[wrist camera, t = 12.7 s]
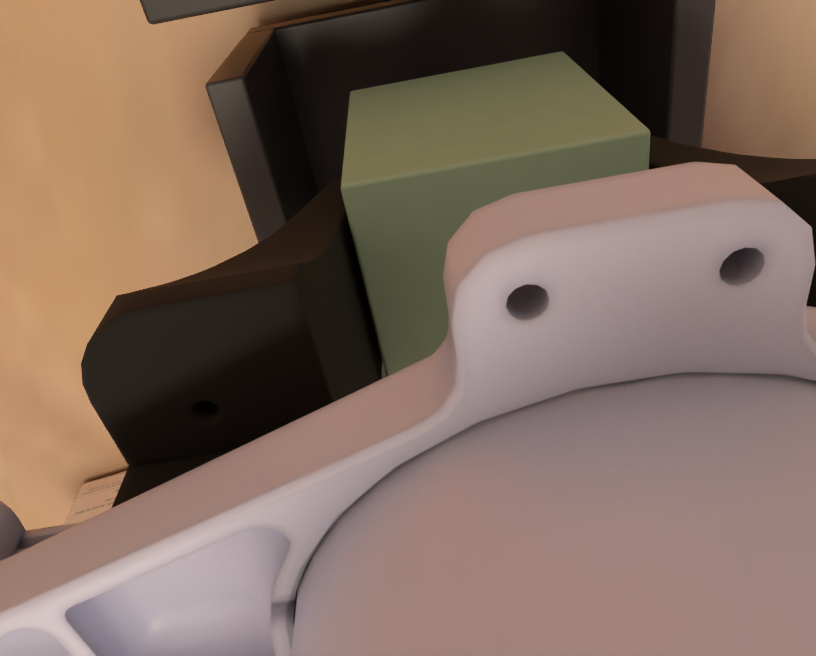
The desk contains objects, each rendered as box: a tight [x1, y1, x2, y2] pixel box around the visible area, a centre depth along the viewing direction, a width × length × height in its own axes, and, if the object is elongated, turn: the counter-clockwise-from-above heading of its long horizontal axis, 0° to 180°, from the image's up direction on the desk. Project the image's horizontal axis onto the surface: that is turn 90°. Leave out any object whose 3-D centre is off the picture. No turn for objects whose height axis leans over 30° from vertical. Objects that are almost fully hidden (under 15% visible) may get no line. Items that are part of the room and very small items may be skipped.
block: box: [341, 51, 650, 376], centre depth 12 cm, size 4×4×5 cm
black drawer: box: [140, 0, 715, 243], centre depth 16 cm, size 17×11×6 cm, turn 10°
